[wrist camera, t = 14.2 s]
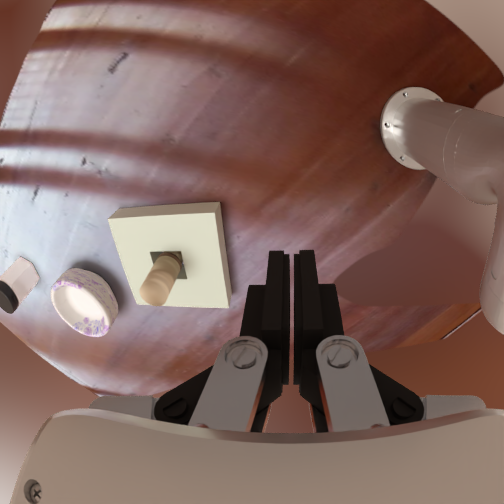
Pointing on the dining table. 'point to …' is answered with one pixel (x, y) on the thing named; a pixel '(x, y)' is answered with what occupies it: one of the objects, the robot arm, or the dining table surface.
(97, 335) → the paper bowls
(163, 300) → the peg
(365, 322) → the dining table surface
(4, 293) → the jar
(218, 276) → the board
